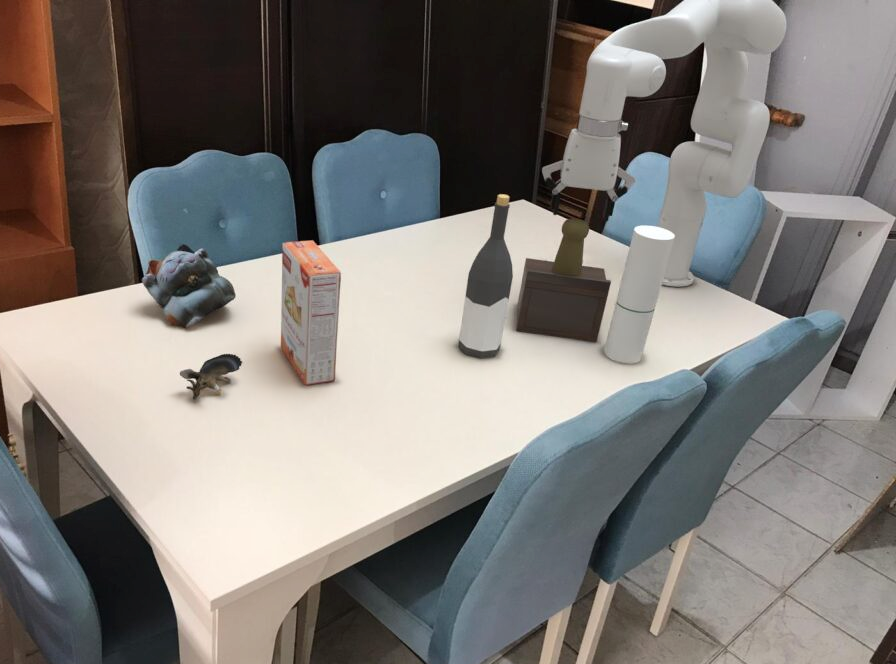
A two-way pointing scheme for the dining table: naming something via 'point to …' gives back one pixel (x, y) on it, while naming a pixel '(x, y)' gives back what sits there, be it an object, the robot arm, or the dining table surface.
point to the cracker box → (309, 311)
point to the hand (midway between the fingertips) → (580, 215)
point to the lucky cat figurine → (187, 286)
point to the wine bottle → (488, 291)
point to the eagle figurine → (212, 373)
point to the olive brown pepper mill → (571, 248)
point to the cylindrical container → (638, 293)
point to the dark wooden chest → (561, 301)
